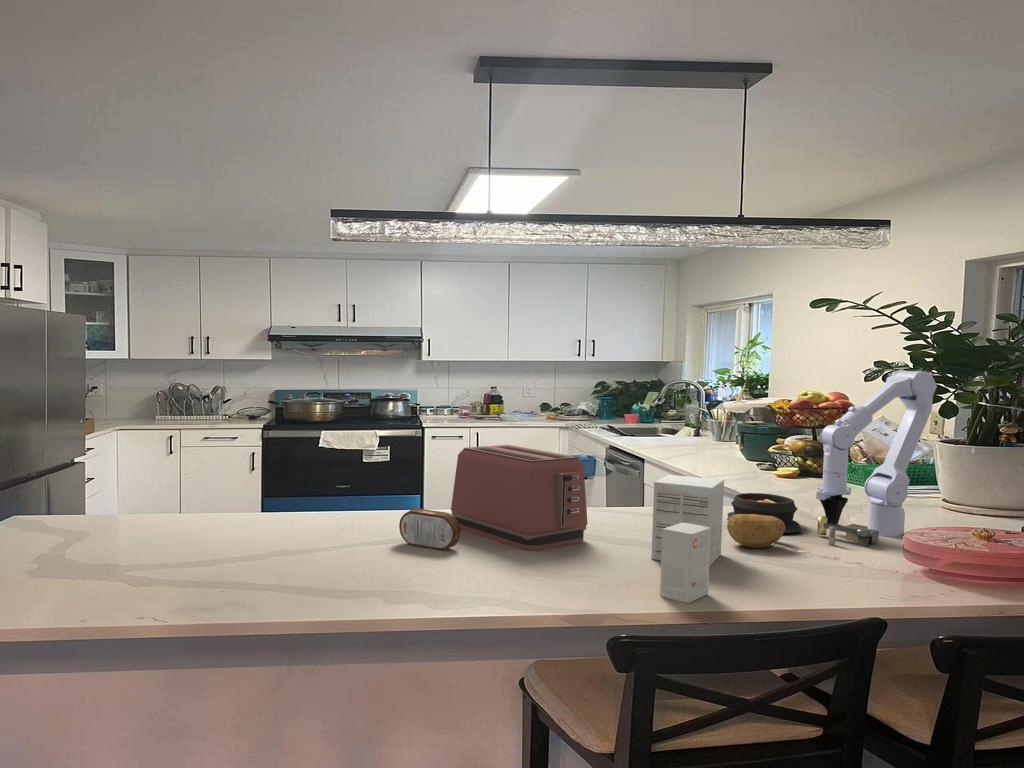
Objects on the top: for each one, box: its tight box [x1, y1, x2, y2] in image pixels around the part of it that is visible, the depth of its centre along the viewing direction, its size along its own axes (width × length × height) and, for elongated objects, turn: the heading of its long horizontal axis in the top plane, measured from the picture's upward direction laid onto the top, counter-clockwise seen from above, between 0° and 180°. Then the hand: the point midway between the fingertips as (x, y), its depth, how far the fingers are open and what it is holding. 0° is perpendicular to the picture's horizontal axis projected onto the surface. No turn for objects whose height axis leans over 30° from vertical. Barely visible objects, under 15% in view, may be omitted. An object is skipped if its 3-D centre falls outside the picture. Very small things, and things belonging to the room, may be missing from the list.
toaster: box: [450, 444, 588, 552], centre depth 196 cm, size 19×34×20 cm, turn 40°
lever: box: [816, 515, 879, 544], centre depth 196 cm, size 7×13×4 cm, turn 41°
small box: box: [659, 523, 711, 604], centre depth 150 cm, size 8×6×13 cm
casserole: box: [726, 492, 803, 534], centre depth 211 cm, size 25×19×8 cm
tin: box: [398, 507, 461, 551], centre depth 180 cm, size 15×3×8 cm, turn 65°
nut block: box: [845, 523, 869, 543], centre depth 196 cm, size 4×4×4 cm
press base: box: [828, 526, 870, 548], centre depth 194 cm, size 16×20×6 cm
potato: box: [726, 514, 785, 549], centre depth 190 cm, size 10×14×8 cm
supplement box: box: [650, 474, 725, 568], centre depth 178 cm, size 13×13×18 cm
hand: (832, 525), depth 202 cm, fingers closed
